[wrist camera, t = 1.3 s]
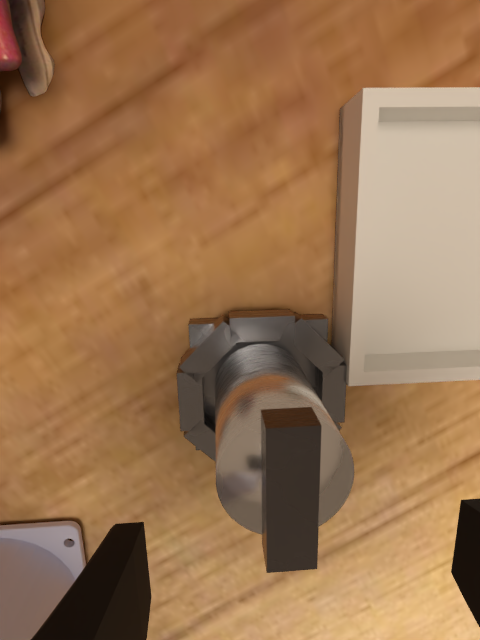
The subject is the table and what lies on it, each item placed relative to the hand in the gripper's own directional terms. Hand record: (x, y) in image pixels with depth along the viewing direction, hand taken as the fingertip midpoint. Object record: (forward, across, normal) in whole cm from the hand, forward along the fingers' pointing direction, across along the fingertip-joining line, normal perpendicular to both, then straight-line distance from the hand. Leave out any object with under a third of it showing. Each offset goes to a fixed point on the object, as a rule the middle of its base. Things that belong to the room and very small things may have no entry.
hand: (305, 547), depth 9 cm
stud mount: (+10, 0, 0) cm, 10 cm away
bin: (+10, -9, -6) cm, 15 cm away
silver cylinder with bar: (+9, 0, 0) cm, 9 cm away
